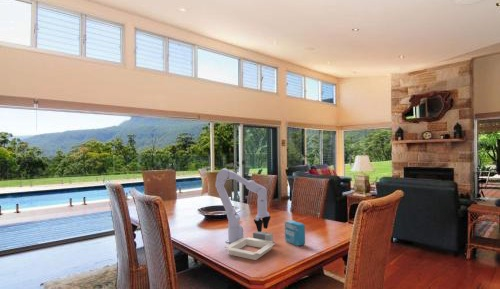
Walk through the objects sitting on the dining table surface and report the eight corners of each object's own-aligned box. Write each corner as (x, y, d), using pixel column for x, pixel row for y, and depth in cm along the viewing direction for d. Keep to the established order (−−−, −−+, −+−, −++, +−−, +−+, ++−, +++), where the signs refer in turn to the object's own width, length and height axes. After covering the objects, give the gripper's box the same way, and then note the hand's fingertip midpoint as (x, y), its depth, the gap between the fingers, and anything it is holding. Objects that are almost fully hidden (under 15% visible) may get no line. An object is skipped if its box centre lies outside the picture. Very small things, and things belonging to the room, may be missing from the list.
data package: (285, 241, 170) (284, 221, 171) (290, 239, 173) (290, 219, 173) (299, 246, 161) (299, 225, 161) (305, 245, 163) (305, 224, 164)
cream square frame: (244, 242, 169) (244, 236, 169) (277, 248, 159) (277, 242, 159) (222, 255, 150) (221, 248, 150) (257, 262, 139) (257, 255, 139)
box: (256, 239, 176) (256, 230, 176) (273, 241, 170) (272, 233, 170) (253, 241, 172) (253, 232, 172) (269, 244, 166) (269, 235, 166)
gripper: (262, 210, 163) (262, 234, 163) (273, 205, 175) (273, 227, 175) (251, 208, 166) (252, 232, 166) (263, 204, 179) (263, 226, 179)
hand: (262, 229), depth 171 cm, fingers open, 7 cm apart
